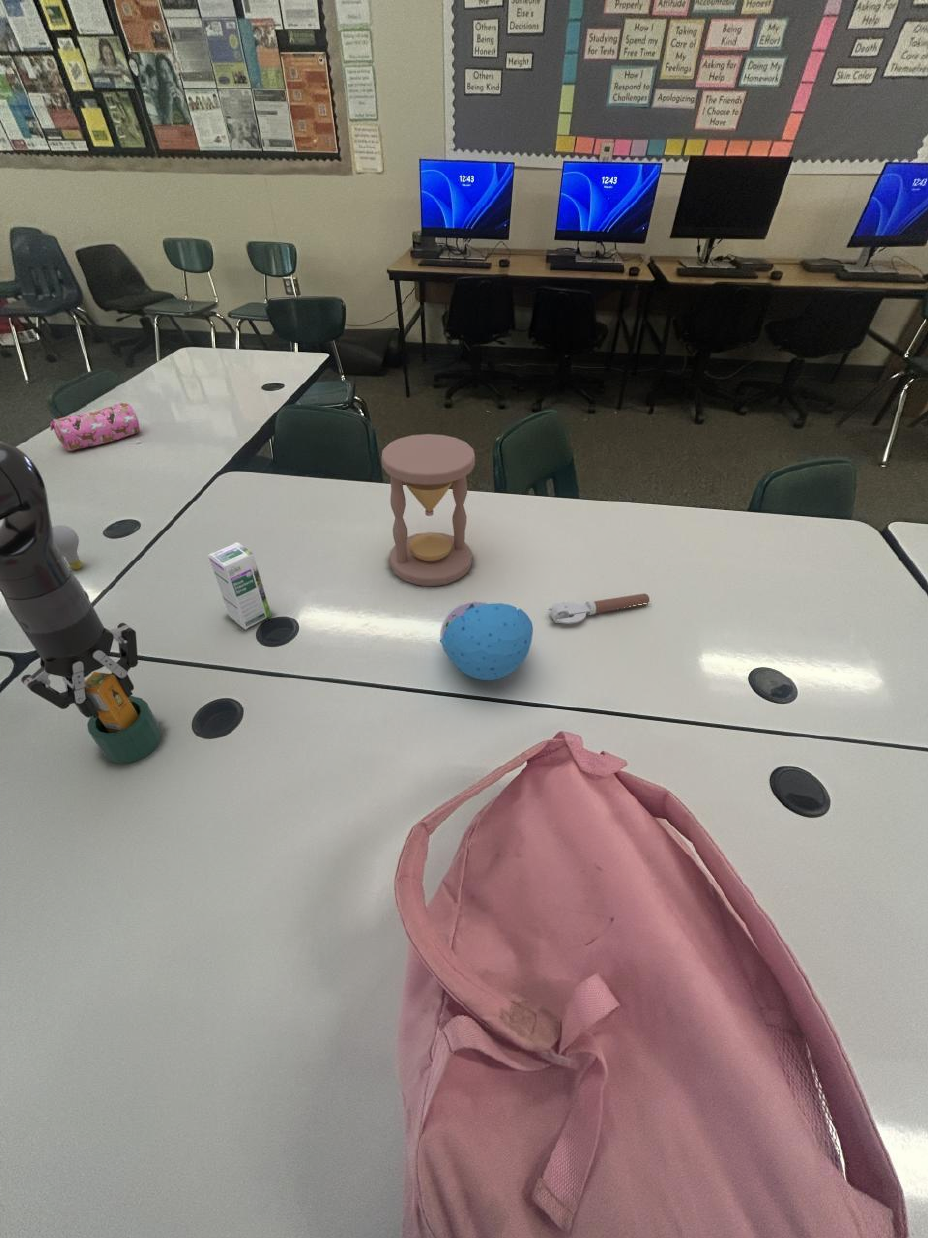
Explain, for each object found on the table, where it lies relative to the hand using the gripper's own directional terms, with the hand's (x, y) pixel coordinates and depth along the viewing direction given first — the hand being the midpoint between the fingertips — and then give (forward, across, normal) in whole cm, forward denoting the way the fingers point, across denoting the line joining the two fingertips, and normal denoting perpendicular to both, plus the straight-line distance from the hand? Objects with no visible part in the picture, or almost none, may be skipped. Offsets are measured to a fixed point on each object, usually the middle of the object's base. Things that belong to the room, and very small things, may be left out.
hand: (110, 703), depth 79 cm
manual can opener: (+9, -71, +42) cm, 83 cm away
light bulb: (+9, -17, -51) cm, 54 cm away
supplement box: (+5, 0, 0) cm, 5 cm away
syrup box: (+9, -29, -10) cm, 32 cm away
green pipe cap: (+9, 0, 0) cm, 9 cm away
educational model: (+9, -46, +32) cm, 57 cm away
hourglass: (+9, -64, +6) cm, 65 cm away
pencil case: (+9, -53, -109) cm, 121 cm away
